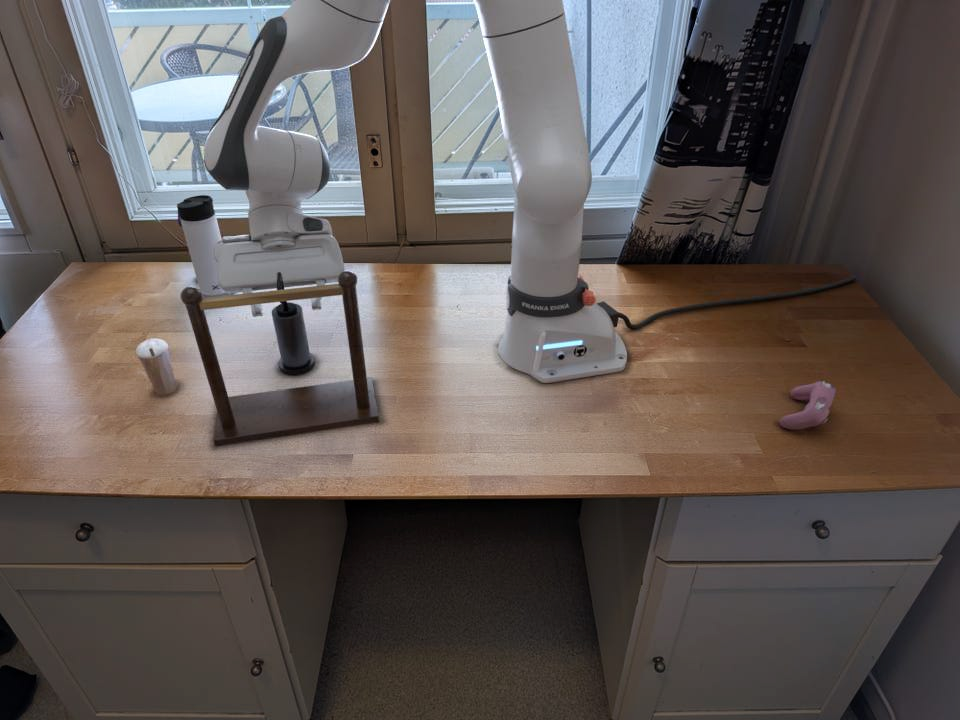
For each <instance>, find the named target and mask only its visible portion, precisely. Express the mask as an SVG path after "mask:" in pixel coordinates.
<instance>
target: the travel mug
mask: <svg viewBox="0 0 960 720" xmlns="http://www.w3.org/2000/svg"><path fill="white" fill-rule="evenodd" d="M176 208H177V213H178V212H179V215H180V220H181V224H182V227H181V228H182V231H183V235H184V238H185V241H186V246H187V249H188V253H189V256H190V260H191V264H192V267H193V271H194V274H195V278H196V282H197V286H198V289H199V290H200V291H201V293H202V298H208V297H218V296H227V295H233V293H226V292H224V291H223V290H222V289H221V288H220V287H219V285H218V277H217V267H218V262H217V261H216V260H215V257H214V245H215V244H216V243H217V242H218V241H219V240H222V235H221V230H220V227H219V223H218V218H217V216H216V215H217V214H216V211H215V207H214V200H213V197H212V196H210V195H207V194H200V195H194V196H190V197H187V198H185V199H183V201H180V202H179V203H177V204H176ZM221 243H223V242H221Z"/></svg>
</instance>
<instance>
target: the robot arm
mask: <svg viewBox="0 0 960 720" xmlns="http://www.w3.org/2000/svg"><path fill="white" fill-rule="evenodd" d="M472 1H473V4H474V7H475V10H476V13H477V17H478V22H479V24H480V30H481V34H482V39H483V43H484V47H485V50H486V55H487V59H488V60H487V61H488V65H489V68H490V72H491V76H492V80H493V84H494V89H495V93H496V94H495V95H496V99H497V103H498V104H497V105H498V109H499V115H500V120H501V121H500V122H501V129H502V134H503V140H504V144H505V150H506V155H507V160H508V167H509V170H510V175H511V179H512V180H511V181H512V186H513V189H514V200H513V201H514V202H513V218H512V219H513V220H512V232H511V256H510V257H511V258H510V274H509V276H508V279H507V286H506V293H505V305H506V310H507V315H506V320H505V325H504V329H503V333H502V336H501V339H500V342H499V344H498V347H497V350H498V354H499V357H500V358H501V360H502V361H503V362H504V363H505V364H506V365H508V366H509V367H511V368H513V369H515V370H516V371H519V372H522V373H525V374H527V375H530V376H531V377H533V378H534V379H535V380H537V381H538V382H540V383H543V384H551V383H555V382H556V383H557V382H564V381H569V380H575V379H581V378H589V377H594V376H602V375H606V374H614V373H618V372H619V373H620V372H622V371H624V370H625V368H626V366H627V363H628V353H627V348H626V346H625V343H624V341H623V339H622V338H621V336H620V334H618V333H617V331H616V329H615V328H618V324H619V319H621V320H623V322H624V324H625V326H626V328H628V329H629V330H633V331H635V330H639V329H641V328H643V327H645V326H647V325H649V324H650V323H651V322H653V321H655V320H657V319H659V318H661V317H664V316H667V315H672V314H676V313H682V312H687V311H693V310H698V309H705V308H712V307H719V306H726V305H733V304H742V303H749V302H750V303H752V302H759V301H768V300H775V299H781V298H782V299H783V298H790V297H796V296H802V295H807V294H811V293H816V292H821V291H825V290H828V289H832V288H836V287H839V286H842V285H845V284H848V283H851V282H854V281H856V280H857V277H856V275H852V276H850V277H847V278H844V279H840V280H838V281H835V282H832V283H827V284H824V285H820V286H819V285H818V286H815V287H811V288H806V289H800V290H795V291H787V292H782V293H773V294H767V295H757V296H750V297H741V298H740V297H739V298H733V299H732V298H731V299H725V300H717V301H709V302H703V303H697V304H690V305H685V306H680V307H679V306H678V307H675V308H670V309H666V310H665V309H664V310H663V311H659V312H656V313H654V314H652V315H650V316H649V317H647V318H646V319H645V320H643V321H641V322H639V323H636V324H632V323H631V321H630V318H629V317H628V316H627V315H625V314H624V313H622V312H618V311H617V310H616V309H615V308H614V307H612V306H611V305H610V304H608V303H607V302H606V301H605V300H604V301H599V302H597V300H596V296H595V294H594V292H593V291H592V290H589V289H590V288H589V285H588V283H587V282H586V281H585V279H584V278H583V276H582V274H579V272H580V271H579V270H580V261H581V251H582V245H583V244H582V243H583V226H584V210H585V202H586V201H587V198H588V196H589V194H590V191H591V189H592V188H591V187H592V180H593V171H592V165H591V159H590V150H589V143H588V139H587V137H586V131H585V126H584V119H583V113H582V108H581V101H580V96H579V89H578V83H577V76H576V69H575V64H574V59H573V52H572V46H571V42H570V37H569V30H568V24H567V19H566V18H567V17H566V13H565V6H564V3H563V0H472ZM390 3H391V0H294V1H293V2H292V4H291V5H290V6H289V7H288V8H287V9H286V10H285V11H284V12H283V13H282V14H281V15H279V16H278V15H277V16H275V17H272V18H269V19H268V20H267V21H266V22H265V23H264V25H263V26H262V28H261V29H260V31H259V33H258V34H257V37H255V40H254V42H253V44H252V46H251V47H250V48H251V49H250V50H249V52H248V54H247V56H246V59H245V60H244V63H243V65H242V67H241V70H240V72H239V74H238V76H237V78H236V81H235V83H234V85H233V87H232V90H231V92H230V94H229V96H228V98H227V101H226V102H225V104H224V107H223V109H222V111H221V113H220V114H219V115H218V117H217V119H216V120H215V122H214V123H213V125H211V128H210V129H209V131H208V134H207V136H206V140H205V143H204V147H203V163H204V168H205V170H206V171H207V173H208V174H209V175H210V176H211V177H212V179H213V180H215V182H216V183H218V184H219V185H220V186H221V187H222V188H223V189H224V190H226V191H227V190H228V191H244V192H245V194H246V195H245V196H246V197H247V199H248V203H249V207H248V212H247V217H248V218H247V219H248V225H249V226H248V227H249V233H250V234H242V235H236V236H223V237H221V239H222V240H219V241H218V242H217V243H216V244H215V245H214V257H215V260H216V261H217V262H218V267H217V277H218V285H219V287H220V288H221V289H222V290H223V291H224V292H226V293H232V294H236V293H237V294H238V293H241V294H246V293H254V292H258V291H267V290H277V273H278V272H281V274H282V279H283V284H284V289H287V288H296V287H306V286H321V285H326V284H335V283H338V276H339V274H340V273H341V272H343V271H345V270H346V268H345V263H344V258H343V254H342V251H341V248H340V245H339V242H338V240H337V239H336V238H335V236H333V229H332V225H331V223H330V221H329V220H328V219H325V218H320V217H315V216H312V215H306V214H304V212H303V210H302V205H301V204H302V201H304V200H309V199H311V198H312V197H313V196H315V195H316V194H317V193H319V192H320V191H321V190H323V189H324V188H325V187H326V185H327V184H328V182H329V180H330V174H331V173H330V172H331V168H330V167H331V165H330V158H329V155H328V152H327V150H326V148H325V146H324V144H323V143H322V142H321V140H320V139H319V138H318V137H316V136H313V135H310V134H306V133H300V132H297V131H292V130H283V129H278V128H272V127H269V126H262V125H259V124H260V122H261V120H262V118H263V116H264V114H265V112H266V110H267V108H268V106H269V104H270V101H271V100H272V97H273V96H274V94H275V92H276V90H277V89H278V87H279V86H280V85H281V84H283V83H284V82H286V81H287V80H289V79H291V78H294V77H297V76H301V75H305V74H310V73H317V72H328V71H339V70H344V69H347V68H349V67H352V66H354V65H356V64H358V63H359V62H361V61H363V60H364V58H366V57H367V56H368V55H369V53H370V52H371V50H372V49H373V47H374V45H375V43H376V41H377V38H378V36H379V34H380V31H381V29H382V25H383V23H384V19H385V17H386V14H387V11H388V8H389V6H390ZM221 242H222V243H221ZM322 299H323V297H318V298H310V302H311V309H312V311H317V310H319V311H321V310H322V308H323V307H322ZM250 308H251V314H252V315H251V316H252V317H253V318H256V317H263V316H264V312H263V305H262V304H255V305H250Z"/></svg>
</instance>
